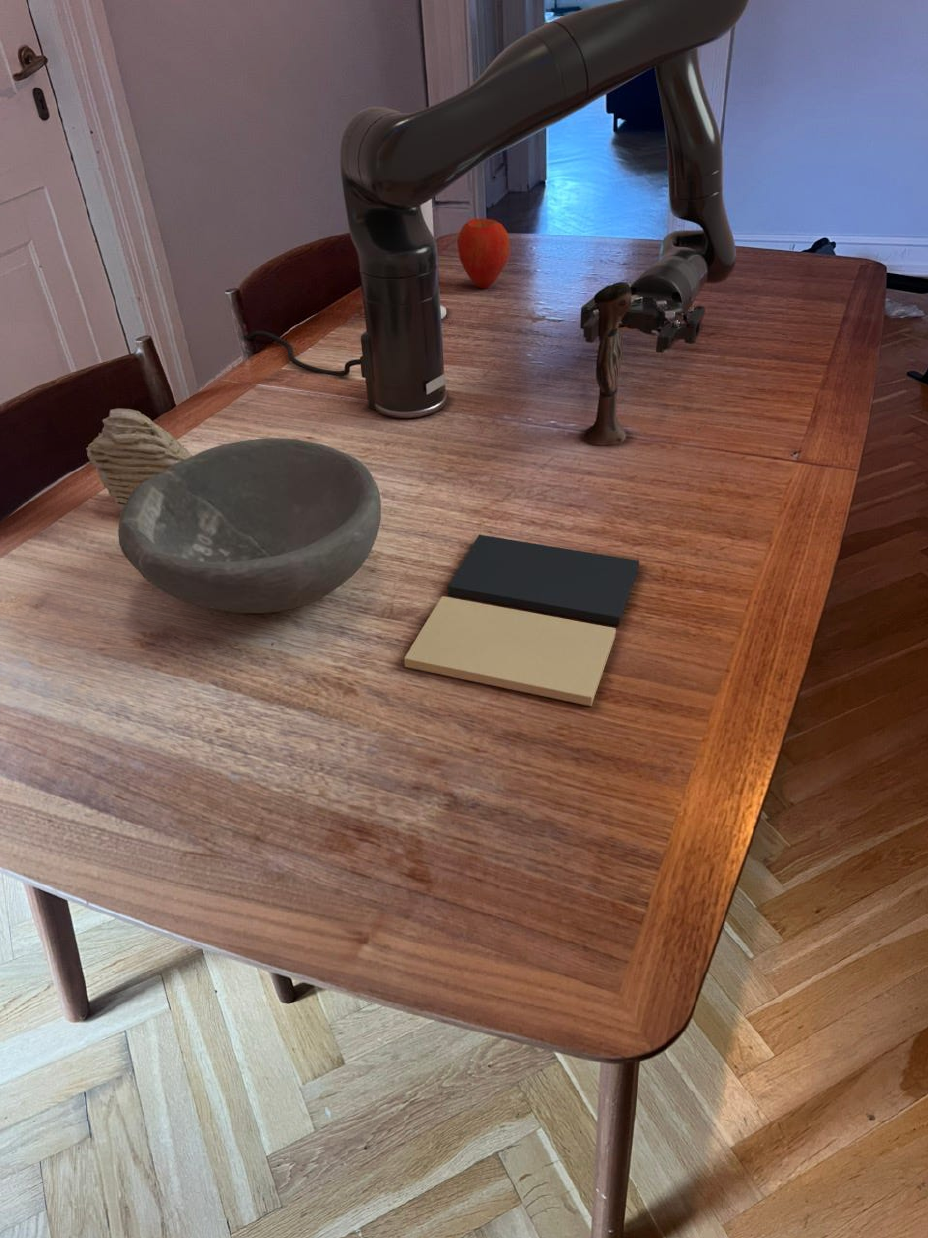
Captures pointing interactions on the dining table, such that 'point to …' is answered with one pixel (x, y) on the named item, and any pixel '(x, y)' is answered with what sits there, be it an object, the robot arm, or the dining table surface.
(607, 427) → the figurine
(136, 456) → the fossil tooth
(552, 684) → the cream mat
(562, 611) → the dark mat
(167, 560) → the bowl
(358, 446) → the dining table surface
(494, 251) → the apple
